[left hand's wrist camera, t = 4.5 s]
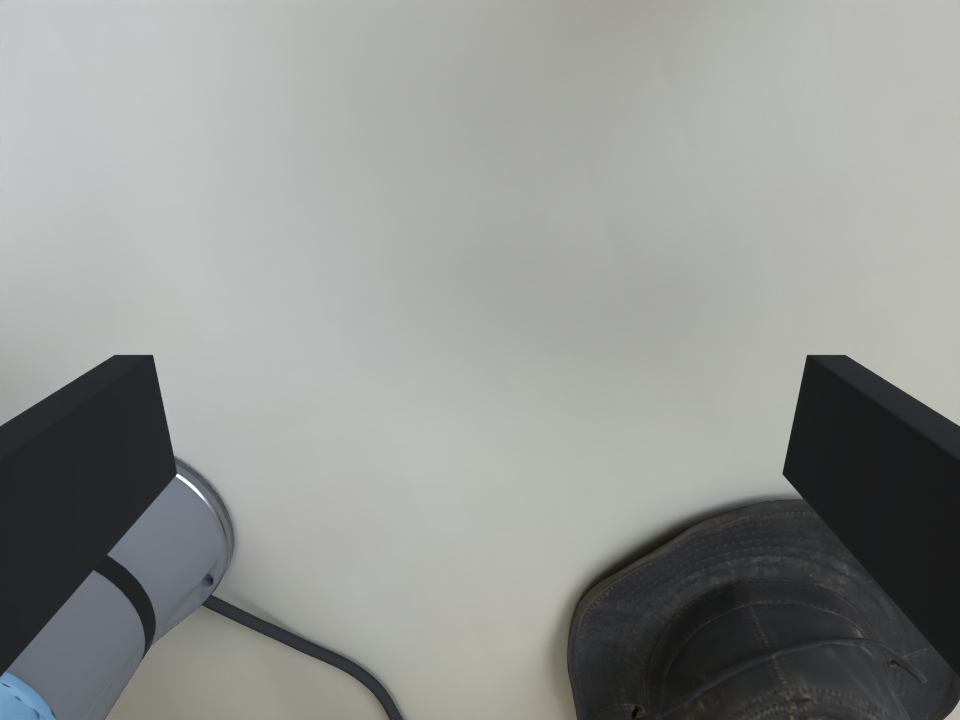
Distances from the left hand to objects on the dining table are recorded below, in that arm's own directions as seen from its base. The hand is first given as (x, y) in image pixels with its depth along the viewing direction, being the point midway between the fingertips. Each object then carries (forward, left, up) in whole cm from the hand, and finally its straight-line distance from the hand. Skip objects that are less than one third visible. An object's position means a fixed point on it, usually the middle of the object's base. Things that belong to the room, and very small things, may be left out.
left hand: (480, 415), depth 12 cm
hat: (+38, +24, -28) cm, 53 cm away
